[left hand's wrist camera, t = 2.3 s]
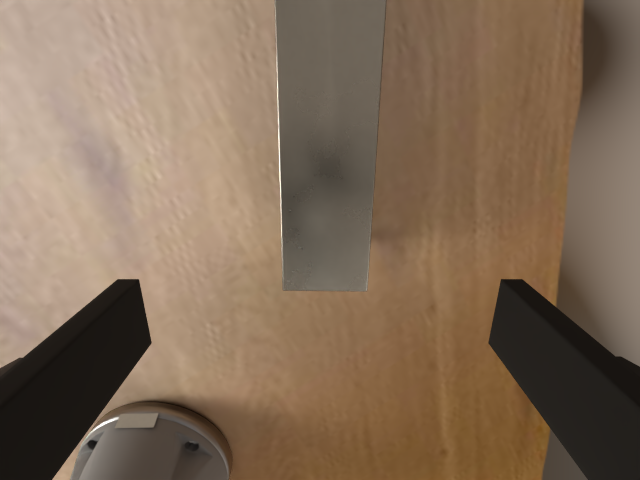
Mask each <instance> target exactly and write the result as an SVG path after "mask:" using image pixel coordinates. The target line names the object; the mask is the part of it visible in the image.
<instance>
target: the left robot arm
mask: <svg viewBox="0 0 640 480" xmlns="http://www.w3.org/2000/svg"><path fill="white" fill-rule="evenodd" d="M150 344H151V338H150V333H149V328H148V323H147V318H146V313H145V308H144V303H143V298H142V293H141V288H140V283H139V279H118V280H116V281H115V282H114V283H113V284H112V285H110V286H109V287H108V288H107V289H105V290H104V291H103V292H102V293H101V294H99V295H98V296H97V297H96V298H95V299H93V300H92V301H91V302H90V303H89V304H87V305H86V306H85V307H84V308H83V309H81V310H80V311H79V312H78V313H77V314H75V315H74V316H73V317H72V318H70V319H69V320H68V321H67V322H66V323H64V324H63V325H62V326H61V327H60V328H58V329H57V330H56V331H55V332H54V333H52V334H51V335H50V336H49V337H48V338H46V339H45V340H44V341H43V342H42V343H40V344H39V345H38V346H37V347H35V348H34V349H33V350H32V351H31V352H29V353H28V354H27V355H26V356H25V357H23V358H18V359H16V360H15V361H13V362H11V363H9V364H7V365H5V366H4V367H2V368H0V480H52V479H53V478H54V476H55V475H56V474H57V472H58V471H59V469H60V468H61V467H62V465H63V464H64V463H65V461H66V460H67V458H68V457H69V456H70V454H71V453H72V452H73V450H74V449H75V447H76V446H77V445H78V443H79V442H80V441H81V439H82V438H83V436H84V435H85V434H86V432H87V431H88V430H89V428H90V427H91V425H92V424H93V423H94V421H95V420H96V419H97V417H98V416H99V414H100V413H101V412H102V410H103V409H104V408H105V406H106V405H107V403H108V402H109V401H110V399H111V398H112V397H113V395H114V394H115V393H116V391H117V390H118V388H119V387H120V386H121V384H122V383H123V382H124V380H125V379H126V377H127V376H128V375H129V373H130V372H131V371H132V369H133V368H134V366H135V365H136V364H137V362H138V361H139V360H140V358H141V357H142V355H143V354H144V353H145V351H146V350H147V349H148V347H149V346H150ZM489 344H490V346H491V347H492V349H493V350H494V351H495V353H496V354H497V355H498V357H499V358H500V360H501V361H502V362H503V364H504V365H505V366H506V368H507V369H508V371H509V372H510V373H511V375H512V376H513V377H514V379H515V380H516V382H517V383H518V384H519V386H520V387H521V388H522V390H523V391H524V393H525V394H526V395H527V397H528V398H529V399H530V401H531V402H532V404H533V405H534V406H535V408H536V409H537V410H538V412H539V413H540V414H541V416H542V417H543V419H544V420H545V421H546V423H547V424H548V425H549V427H550V428H551V430H552V431H553V432H554V434H555V435H556V436H557V438H558V439H559V441H560V442H561V443H562V445H563V446H564V447H565V449H566V450H567V452H568V453H569V454H570V456H571V457H572V458H573V460H574V461H575V463H576V464H577V465H578V467H579V468H580V469H581V471H582V472H583V473H584V475H585V476H586V478H587V479H588V480H640V367H639V366H637V365H635V364H633V363H632V362H630V361H628V360H626V359H624V358H623V357H615V356H614V355H613V354H612V353H611V352H609V351H608V350H607V349H606V348H605V347H603V346H602V345H601V344H600V343H598V342H597V341H596V340H595V339H594V338H592V337H591V336H590V335H589V334H588V333H586V332H585V331H584V330H583V329H582V328H580V327H579V326H578V325H577V324H576V323H574V322H573V321H572V320H571V319H570V318H568V317H567V316H566V315H565V314H563V313H562V312H561V311H560V310H559V309H557V308H556V307H555V306H554V305H553V304H551V303H550V302H549V301H548V300H547V299H545V298H544V297H543V296H542V295H541V294H539V293H538V292H537V291H536V290H535V289H533V288H532V287H531V286H530V285H528V284H527V283H526V282H525V281H524V280H522V279H501V283H500V288H499V293H498V298H497V303H496V308H495V313H494V318H493V323H492V328H491V333H490V338H489ZM231 469H232V454H231V450H230V447H229V445H228V443H227V441H226V439H225V438H224V436H223V435H222V433H221V432H220V431H219V430H218V429H217V428H216V427H215V426H214V425H213V424H212V423H210V422H209V421H208V420H206V419H205V418H203V417H202V416H200V415H198V414H196V413H195V412H192V411H190V410H188V409H185V408H182V407H179V406H176V405H172V404H167V403H159V402H140V403H133V404H128V405H124V406H121V407H119V408H116V409H114V410H112V411H110V412H109V413H107V414H106V415H104V416H103V417H102V418H101V419H100V420H99V421H98V422H97V423H96V425H95V426H94V427H93V429H92V430H91V432H90V433H89V434H88V436H87V437H86V439H85V440H84V441H83V443H82V445H81V448H80V450H79V453H78V456H77V459H76V462H75V466H74V469H73V472H72V475H71V478H70V480H229V477H230V473H231Z"/></svg>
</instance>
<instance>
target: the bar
mask: <svg viewBox="0 0 640 480" xmlns="http://www.w3.org/2000/svg"><path fill="white" fill-rule="evenodd" d="M386 1H387V0H275V32H276V68H277V104H278V139H279V175H280V211H281V246H282V282H283V290H284V291H367V289H368V274H369V259H370V243H371V228H372V213H373V198H374V183H375V168H376V153H377V138H378V122H379V107H380V92H381V77H382V62H383V47H384V32H385V17H386Z"/></svg>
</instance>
